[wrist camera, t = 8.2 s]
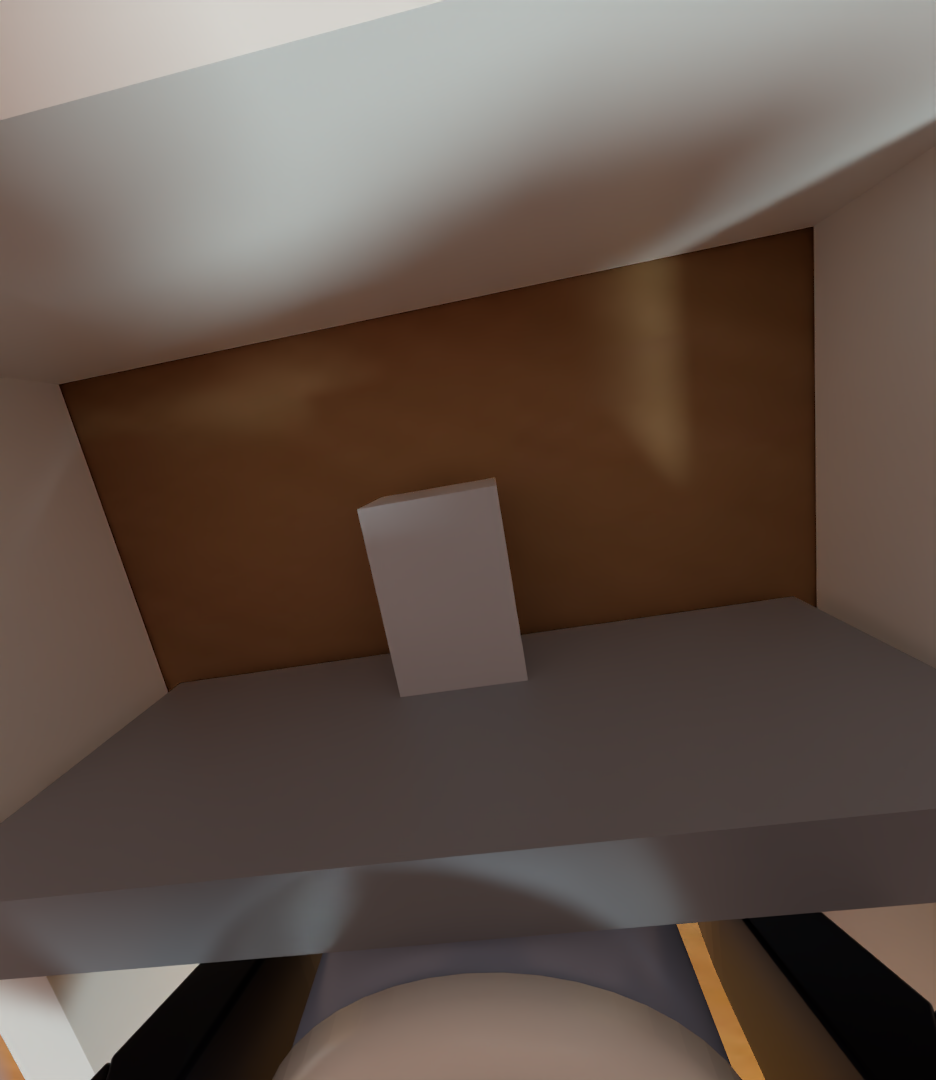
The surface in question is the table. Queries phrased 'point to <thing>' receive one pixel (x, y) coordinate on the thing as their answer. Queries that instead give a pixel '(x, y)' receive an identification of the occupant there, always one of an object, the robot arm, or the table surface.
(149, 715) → the pusher
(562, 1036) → the jar
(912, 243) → the lane
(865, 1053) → the robot arm
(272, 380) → the table surface
